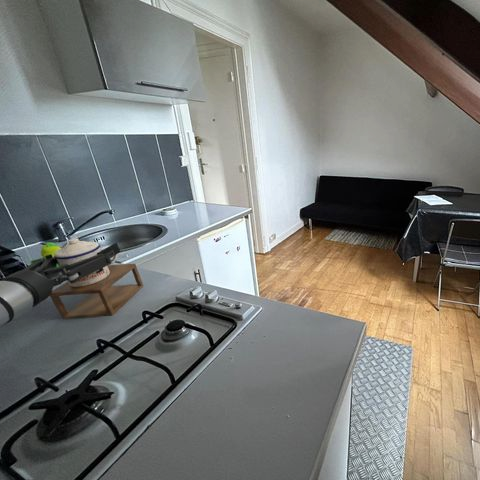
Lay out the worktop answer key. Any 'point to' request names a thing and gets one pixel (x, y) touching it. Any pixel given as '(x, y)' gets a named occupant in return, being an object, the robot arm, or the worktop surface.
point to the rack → (99, 294)
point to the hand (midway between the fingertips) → (98, 248)
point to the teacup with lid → (78, 253)
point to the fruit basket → (48, 251)
